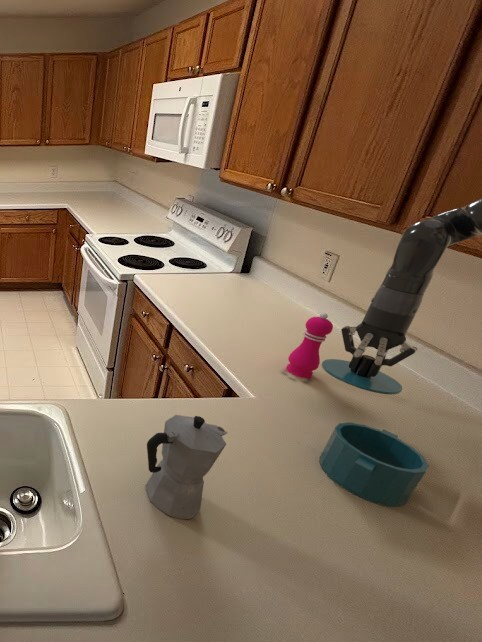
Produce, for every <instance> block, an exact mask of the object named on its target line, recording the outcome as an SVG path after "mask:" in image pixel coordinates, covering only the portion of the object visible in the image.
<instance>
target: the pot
mask: <svg viewBox="0 0 482 642" xmlns="http://www.w3.org/2000/svg"><path fill="white" fill-rule="evenodd" d="M398 437H399V435H397V434H395V433H393V432H391V431H388V430H387V429H383V428H382V430H381V429H378V428H374V427H372V426H368V425H365V424H361V423H355V422H340V423H338V424H337V425H336V426H335V427H334V429H333V430H332V432H331V434H330V436H329V439H328V440H327V442H326V444H325V446H324V448H323V450H322V451H321V454H320V456H319V465H320V467H321V469H322V470H323V472H324V473H325V474H326V475H327V476H328V477H329V478H330V479H331V480H332V481H333V482H334V483H336V484H337V485H338V486H339V487H341V488H343V489H344V490H346V491H347V492H350V493H351V494H353V495H354V496H357V497H358V498H361V499H363V500H366V501H368V502H370V503H374V504H377V505H381V506H385V507H391V508H393V507H394V508H395V507H401V506H404V505H405V504H407V502H408V501H409V499H410V497H411V496H412V494H413V493H414V491H415V489H416V488H417V486H418V485H419V483H420V482H421V480H422V479H423V478H424V476H425V474H426V472H427V471H428V469H429V467H430V465H429V462H428V461H427V459H426V458H425V456H424V455H423V454H422V453H420V452H419V451H418V450H417V449H416V448H415V447H413V446H411V445H410V444H408V443H407V442H405V441H403V440H402V439H400V438H398Z"/></svg>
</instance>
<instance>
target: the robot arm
mask: <svg viewBox="0 0 482 642" xmlns="http://www.w3.org/2000/svg"><path fill="white" fill-rule="evenodd" d="M481 235H482V197H480V198H479V199H476V200H474V201H471V202H470V203H467V204H466V205H464V206H461V207H456V208H455V209H451V210H448V211H445V212H442V213H439V214H436V215H433V216H430V217H426V218H424V219H421V220H419V221H416V222H414V223H412V224H410V225H409V226H407V228H406V229H405V230H404V232H403V233H402V235H401V237H400V240H399V241H398V245H397V247H396V250H395V253H394V257H393V259H392V263H391V264H390V266H389V268H388V269H387V271H386V273H385V275H384V277H383V280H382V281H381V284H380V285H379V287H378V288H377V290H376V291H375V293H374V295H373V297H372V298H371V301H370V304H369V306H368V308H367V310H366V313H365V315H364V317H363V318H362V321H361V323H359V324H357V325H356V326H349V325H345V326H344V327H342V328H341V329H340V330H341V331H340V332H341V335H342V341H343V346H344V351H345V352H347V353H349V354H351V355H352V357H351V360H350V364H349V368H351V370H350V371H352V372H355V370H356V368H357V366H358V363H359V361H360V359H361V357H362V355H364V353H365V352H366V350H367V349H368V348H373V349H375V350H376V355H375V362H374V363H373V364H372V366H371V368H370V370H369V372H368V374H367V376H366V377H368V378H371V377H375V376H376V375H377V374H378V372H379V371H380V370H381V368H382V366H387V367H393V366H394V365H397V364H398V363H400V362H402V361H403V360H405V359H407V358H409V357H411V356H412V355H414V354H415V353H416V352H417V351H418V348H417V347H416V346H412V345H411V344H410V343H408V341H407V337H406V334H407V332H408V330H409V329H410V326H411V324H412V322H413V321H414V319H415V316H416V314H417V313H418V311H419V309H420V307H421V304H422V302H423V298H424V296H425V293H426V292H427V289H428V288H429V286H430V284H431V282H432V279H433V277H434V274H435V269H436V267H437V265H438V263H439V262H440V260H441V259H442V256H443V255H444V253H445V251H446V250H447V248H448V247H450V246H453V245H455V244H458V243H461V242H464V241H467V240H470V239H473V238H475V237H479V236H481ZM356 333H357V335H358V337H359V340H360V343H359V344H358V346H357V347H355V342H354V337H353V336H354V335H355V334H356ZM399 346H401V348H400V349H399V352H400V353H398V354H396V355H394V356H393V357H391V358H386V357H387V355H388V352H389V350H392V349H394V348H397V347H399Z"/></svg>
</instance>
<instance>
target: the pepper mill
mask: <svg viewBox="0 0 482 642" xmlns="http://www.w3.org/2000/svg"><path fill="white" fill-rule="evenodd" d="M328 317H329V315H328V313H326V312H320V314H319V316H312V317H310V318H307V321H306V322H305V329H306V330H304V333H303V340H302V341H301V343H300V344H299V346H297V347H295V349H293V350H292V351H291V352H290V354H289V355H288V359H287V360H288V362H289V363H288V364H287V365H286V367H285V370H286V371H287V372H288V373H290V374H291V375H294V376H296V377H299V378H302V379H311V378H312V377H313V374H314V373H313V372H314V371H315V370H317V369H318V368H319V366H320V365H321V364H320V363H321V357H320V348H321V345H322V344H323V342H325V341H326V339H327V335H330V334H331V333H332V331H333V329H334V325H333V323H332V322H331V321H330V320H329V319H328Z"/></svg>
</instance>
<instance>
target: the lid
mask: <svg viewBox="0 0 482 642" xmlns="http://www.w3.org/2000/svg"><path fill="white" fill-rule="evenodd" d="M375 359H376V357H373V356H371V355H368V354H362V357H361V359H360V361H359V363H358V366H357V368H356V370H355V372H352V371H350V370H351V368H349V364H350V362H351V360H350V361H349V360H345V359H337V358H329V359H324V360H323V361H321V364H320V365H321V368H322V369H323V371H325V372H326V373H327V374H328V375H330V376H331V377H333V378H335V379H336V380H338V381H341V382H343V383H345V384H346V385H349V386H352V387H354V388H357V389H361V390H364V391H368V392H371V393H376V394H380V395H381V394H382V395H399V394H400V393H402V391H403V386H402V384H401V383H400V382H399V381H397V380H396V379H395V378H394V377H391V376H390V375H388V374H386V373H384V372H382V371H380V370H379V372H378V374H377V375H376V376H375V377H371V378H368V377H366V376H367V374H368V372H369V370H370V368H371V366H372V364H373V363H374V362H375Z"/></svg>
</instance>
